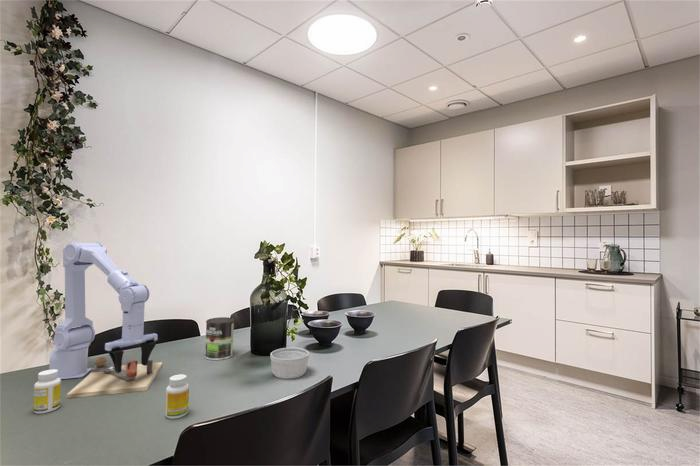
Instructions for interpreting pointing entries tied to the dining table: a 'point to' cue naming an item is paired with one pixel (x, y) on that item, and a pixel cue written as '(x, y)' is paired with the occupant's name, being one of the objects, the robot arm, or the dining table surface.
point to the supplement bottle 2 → (177, 397)
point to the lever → (124, 374)
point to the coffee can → (219, 338)
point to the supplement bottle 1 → (47, 392)
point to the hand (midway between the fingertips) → (131, 368)
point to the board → (114, 380)
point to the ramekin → (289, 362)
